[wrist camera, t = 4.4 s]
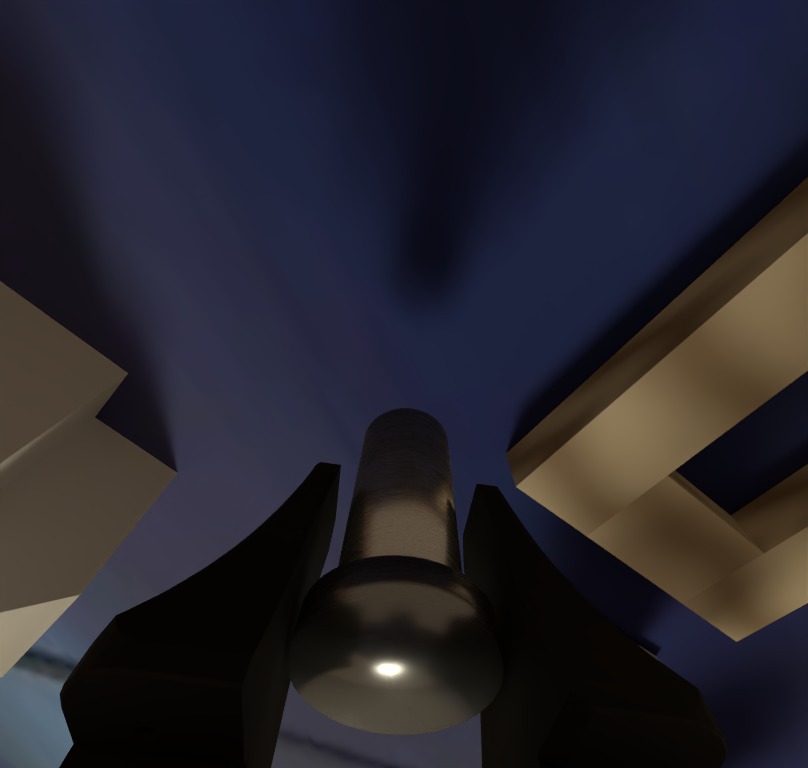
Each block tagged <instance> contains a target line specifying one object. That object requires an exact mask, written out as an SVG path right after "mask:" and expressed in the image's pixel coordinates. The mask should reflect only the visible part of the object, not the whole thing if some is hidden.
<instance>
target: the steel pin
mask: <svg viewBox="0 0 808 768" xmlns="http://www.w3.org/2000/svg"><path fill="white" fill-rule="evenodd" d="M287 663H288V672H289V676H290V679H291V681H292V683H293V686H294V687H295V689H296V690H297V692H298V693H299V695H300V696H301V697H302V698H303V699H304V700H305V701H306V702H307V703H308V704H309V705H311V706H312V707H313V708H314V709H316V710H317V711H319V712H320V713H322V714H323V715H325V716H327V717H329V718H331V719H333V720H335V721H337V722H340V723H342V724H345V725H347V726H351V727H354V728H357V729H361V730H366V731H370V732H377V733H384V734H420V733H427V732H433V731H438V730H442V729H446V728H449V727H452V726H455V725H457V724H460V723H462V722H464V721H467V720H468V719H470V718H472V717H474V716H475V715H477V714H478V713H480V712H481V711H482V710H484V709H485V708H486V707H487V706H488V705H489V704H490V703H491V702H492V701H493V699H494V698H495V697H496V695H497V693H498V691H499V690H500V688H501V685H502V681H503V675H504V667H503V660H502V654H501V649H500V643H499V637H498V631H497V625H496V619H495V613H494V610H493V607H492V605H491V603H490V601H489V599H488V597H487V596H486V594H485V593H484V592H483V591H482V590H481V588H480V587H479V586H478V585H477V584H475V583H474V582H473V581H472V580H471V579H469V578H468V577H467V576H465V575H464V574H462V569H461V559H460V550H459V541H458V531H457V522H456V512H455V503H454V493H453V484H452V475H451V465H450V456H449V446H448V439H447V435H446V432H445V430H444V428H443V427H442V425H441V424H440V423H439V422H438V421H437V420H436V419H435V418H434V417H433V416H431V415H429V414H428V413H425V412H423V411H420V410H417V409H411V408H400V409H394V410H390V411H388V412H385V413H383V414H382V415H380V416H378V417H377V418H376V419H375V420H374V421H373V422H372V423H371V424H370V426H369V427H368V429H367V431H366V434H365V438H364V443H363V448H362V453H361V457H360V462H359V467H358V472H357V477H356V482H355V487H354V492H353V497H352V502H351V507H350V512H349V517H348V521H347V526H346V531H345V536H344V541H343V546H342V551H341V556H340V561H339V566H338V567H337V568H335V569H333V570H331V571H330V572H328V573H327V574H325V575H324V576H322V577H321V578H320V579H319V580H318V581H317V582H315V584H314V585H313V586H312V587H311V588H310V589H309V591H308V593H307V594H306V596H305V598H304V600H303V603H302V606H301V609H300V613H299V617H298V620H297V624H296V628H295V631H294V635H293V639H292V642H291V646H290V650H289V654H288V661H287Z"/></svg>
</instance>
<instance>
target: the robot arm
mask: <svg viewBox="0 0 808 768" xmlns="http://www.w3.org/2000/svg"><path fill="white" fill-rule="evenodd" d="M340 467H341V465H337V464H330V463H323V462H320V463H318V464H317V465H316V466H315V467H314V469H313V470H312V471H311V473H310V474H309V475H308V476H307V478H306V479H305V480H304V481H303V483H302V484H301V485H300V486H299V487H298V488H297V489H296V491H295V492H294V493H293V494H292V495H291V496H290V497H289V498H288V499H287V500H286V501H285V502H284V503H283V505H282V506H281V507H280V508H279V509H278V510H276V511H275V512H274V513H273V514H272V515H271V516H270V517H269V518H268V519H267V520H266V521H265V522H264V523H263V524H262V525H261V526H259V527H258V528H257V529H256V530H255V531H254V532H252V533H251V534H250V535H249V536H248V537H246V538H245V539H244V540H243V541H241V542H240V543H239V544H238V545H236V546H235V547H234V548H232V549H231V550H230V551H228V552H227V553H225V554H224V555H223V556H221V557H220V558H218V559H217V560H216V561H214V562H213V563H211V564H210V565H208V566H207V567H205V568H204V569H202V570H201V571H199V572H197V573H196V574H194V575H192V576H191V577H189V578H187V579H186V580H184V581H182V582H181V583H179V584H177V585H176V586H174V587H172V588H171V589H169V590H167V591H165V592H163V593H161V594H160V595H158V596H156V597H153V598H151V599H149V600H147V601H145V602H143V603H141V604H139V605H137V606H135V607H133V608H131V609H129V610H127V611H125V612H123V613H120V614H118V615H116V616H115V617H114V618H113V620H112V621H111V622H110V623H109V624H108V626H107V627H106V628H105V629H104V630H103V631H102V632H101V634H100V635H99V636H98V637H97V638H96V640H95V641H94V642H93V643H92V645H91V646H90V647H89V649H88V650H87V652H86V653H85V655H84V656H83V657H82V659H81V660H80V662H79V663H78V665H77V666H76V667H75V669H74V670H73V672H72V673H71V675H70V676H69V677H68V679H67V680H66V682H65V683H64V685H63V687H62V690H61V692H60V700H61V707H62V711H63V714H64V717H65V720H66V723H67V726H68V728H69V731H70V734H71V737H72V740H73V743H74V744H73V746H72V748H71V749H70V751H69V752H68V754H67V756H66V757H65V759H64V761H63V762H62V764H61V766H60V767H59V768H271V765H272V760H273V756H274V751H275V747H276V742H277V738H278V733H279V729H280V724H281V720H282V715H283V711H284V706H285V702H286V698H287V693H288V689H289V685H290V680H291V679H290V676H289V672H288V663H287V661H288V654H289V650H290V646H291V642H292V639H293V635H294V631H295V628H296V624H297V620H298V617H299V613H300V609H301V606H302V603H303V600H304V598H305V596H306V594H307V593H308V591H309V589H310V588H311V587H312V586H313V585H314V584H315V582H317V581H318V580H319V578H320V575H321V572H322V569H323V566H324V563H325V560H326V557H327V554H328V551H329V547H330V542H331V538H332V533H333V528H334V523H335V519H336V509H337V499H338V488H339V478H340ZM463 555H464V571H465V576H467V577H468V578H469V579H471V580H472V581H473V582H474V583H475V584H477V585H478V586H479V587H480V588H481V590H482V591H483V592H484V593H485V594H486V596H487V597H488V599H489V601H490V603H491V605H492V607H493V610H494V613H495V619H496V625H497V631H498V637H499V643H500V649H501V654H502V660H503V667H504V675H503V681H502V685H501V688H500V690H499V691H498V693H497V695H496V697H495V698H494V699H493V701H492V702H491V703H490V704H489V705H488V706H487V707H486V708H485V709H484V710H482V711H481V712H480V713H479V714H480V723H481V742H482V768H720V767H721V765H722V764H723V762H724V760H725V759H726V756H727V748H728V744H727V742H726V740H725V738H724V736H723V734H722V732H721V730H720V728H719V726H718V724H717V722H716V720H715V718H714V716H713V714H712V712H711V710H710V709H709V707H708V705H707V703H706V702H705V700H704V698H703V696H702V695H701V693H700V691H699V690H698V688H696V687H695V686H694V685H692V684H691V683H689V682H688V681H687V680H685V679H684V678H682V677H681V676H680V675H678V674H677V673H675V672H674V671H672V670H671V669H670V668H668V667H667V666H665V665H664V664H663V663H661V662H660V661H659V659H658V657H657V656H655V655H653V654H652V653H650V652H649V651H647V650H646V649H644V648H643V647H641V646H639V645H638V644H636V643H635V642H634V641H633V640H631V639H630V638H629V637H628V636H626V635H625V634H624V633H623V632H622V631H620V630H619V629H618V628H617V627H616V626H614V625H613V624H612V623H611V622H610V621H609V620H608V619H607V618H606V617H604V616H603V615H602V614H601V613H600V612H599V611H598V610H597V609H596V608H595V607H594V606H592V605H591V604H590V603H589V602H588V601H587V600H586V599H585V598H584V597H583V596H582V595H581V594H580V593H579V592H578V591H577V590H576V589H575V588H574V587H573V585H572V584H571V583H570V582H569V581H568V580H567V579H566V578H565V577H564V576H563V575H562V574H561V573H560V571H559V570H558V569H557V568H556V567H555V566H554V565H553V563H552V562H551V561H550V560H549V558H548V557H547V556H546V555H545V554H544V552H543V551H542V550H541V549H540V547H539V546H538V545H537V543H536V542H535V541H534V539H533V538H532V537H531V535H530V534H529V533H528V531H527V530H526V528H525V527H524V526H523V524H522V523H521V521H520V520H519V518H518V517H517V515H516V514H515V513H514V511H513V510H512V508H511V507H510V505H509V504H508V502H507V501H506V499H505V498H504V496H503V494H502V493H501V492H500V490H499V489H498V487H497V486H489V485H482V484H477V485H476V488H475V492H474V496H473V500H472V503H471V507H470V511H469V515H468V518H467V522H466V526H465V530H464V533H463Z"/></svg>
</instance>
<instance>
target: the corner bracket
mask: <svg viewBox="0 0 808 768" xmlns="http://www.w3.org/2000/svg"><path fill="white" fill-rule="evenodd" d="M127 374H128V373H127V372H126V371H124V370H123V369H121V368H120V367H119V366H117V365H116V364H114V363H113V362H112V361H110V360H109V359H108V358H106V357H105V356H103V355H102V354H101V353H99V352H98V351H96V350H95V349H94V348H92V347H91V346H90V345H88V344H87V343H85V342H84V341H83V340H81V339H80V338H78V337H77V336H76V335H74V334H73V333H71V332H70V331H69V330H67V329H66V328H65V327H63V326H62V325H60V324H59V323H58V322H56V321H55V320H53V319H52V318H51V317H49V316H48V315H46V314H45V313H44V312H42V311H41V310H40V309H38V308H37V307H35V306H34V305H33V304H31V303H30V302H28V301H27V300H26V299H24V298H23V297H22V296H20V295H19V294H17V293H16V292H15V291H13V290H12V289H10V288H9V287H8V286H6V285H5V284H3V283H2V282H1V281H0V677H3V676H4V675H5V674H6V673H7V672H8V670H9V669H10V668H11V667H12V666H13V665H14V664H15V663H16V662H17V661H18V660H19V659H20V658H21V657H22V656H23V655H24V654H25V652H26V651H27V650H28V649H29V648H30V647H31V646H32V645H33V644H34V643H35V642H36V641H37V640H38V639H39V638H40V637H41V636H42V635H43V633H44V632H45V631H46V630H47V629H48V628H49V627H50V626H51V625H52V624H53V623H54V622H55V621H56V620H57V619H58V618H59V617H60V615H61V614H62V613H63V612H64V611H65V610H66V609H67V608H68V607H69V606H70V605H71V604H72V603H73V602H74V601H75V600H76V599H77V598H78V596H79V595H80V594H81V593H82V592H83V591H84V589H85V588H86V587H87V586H88V584H89V583H90V582H91V581H92V579H93V578H94V577H95V575H96V574H97V573H98V572H99V570H100V569H101V568H102V567H103V565H104V564H105V563H106V562H107V560H108V559H109V558H110V557H111V555H112V554H113V553H114V552H115V550H116V549H117V548H118V547H119V545H120V544H121V543H122V542H123V540H124V539H125V538H126V537H127V535H128V534H129V533H130V532H131V530H132V529H133V528H134V527H135V525H136V524H137V523H138V522H139V520H140V519H141V518H142V517H143V515H144V514H145V513H146V512H147V510H148V509H149V508H150V507H151V505H152V504H153V503H154V502H155V500H156V499H157V498H158V497H159V495H160V494H161V493H162V492H163V490H164V489H165V488H166V486H167V485H168V484H169V483H170V481H171V480H172V479H173V478H174V476H175V475H176V474H177V472H175V471H174V470H172V469H171V468H169V467H168V466H167V465H165V464H164V463H162V462H161V461H159V460H158V459H156V458H155V457H153V456H152V455H150V454H149V453H147V452H146V451H144V450H143V449H141V448H140V447H138V446H137V445H135V444H134V443H132V442H131V441H129V440H128V439H126V438H125V437H123V436H122V435H120V434H119V433H118V432H116V431H115V430H113V429H112V428H110V427H109V426H107V425H106V424H104V423H103V422H101V421H100V420H98V419H97V418H95V417H96V415H97V414H98V413H99V411H100V410H101V409H102V407H103V406H104V405H105V403H106V402H107V401H108V399H109V398H110V397H111V396H112V394H113V393H114V392H115V390H116V389H117V388H118V386H119V385H120V384H121V382H122V381H123V380H124V378H125V377H126V376H127Z"/></svg>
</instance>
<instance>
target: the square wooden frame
mask: <svg viewBox="0 0 808 768" xmlns="http://www.w3.org/2000/svg"><path fill="white" fill-rule="evenodd" d="M806 371H808V177H807V178H806V179H805V180H804V181H803V182H802V183H801V184H800V185H799V186H798V187H796V188H795V189H794V190H793V191H792V192H791V193H790V194H789V195H788V196H787V197H786V198H784V199H783V200H782V201H781V202H780V203H779V204H778V205H777V206H776V207H775V208H774V209H772V210H771V211H770V212H769V213H768V214H767V215H766V216H765V217H764V218H763V219H762V220H760V221H759V222H758V223H757V224H756V225H755V226H754V227H753V228H752V229H751V230H750V231H748V232H747V233H746V234H745V235H744V236H743V237H742V238H741V239H740V240H739V241H738V242H736V243H735V244H734V245H733V246H732V247H731V248H730V249H729V250H728V251H727V252H726V253H724V254H723V255H722V256H721V257H720V258H719V259H718V260H717V261H716V262H715V263H714V264H712V265H711V266H710V267H709V268H708V269H707V270H706V271H705V272H704V273H703V274H702V275H700V276H699V277H698V278H697V279H696V280H695V281H694V282H693V283H692V284H691V285H690V286H688V287H687V288H686V289H685V290H684V291H683V292H682V293H681V294H680V295H679V296H678V297H676V298H675V299H674V300H673V301H672V302H671V303H670V304H669V305H668V306H667V307H666V308H664V309H663V310H662V311H661V312H660V313H659V314H658V315H657V316H656V317H655V318H654V319H652V320H651V321H650V322H649V323H648V324H647V325H646V326H645V327H644V328H643V329H642V330H640V331H639V332H638V333H637V334H636V335H635V336H634V337H633V338H632V339H631V340H630V341H628V342H627V343H626V344H625V345H624V346H623V347H622V348H621V349H620V350H619V351H618V352H616V353H615V354H614V355H613V356H612V357H611V358H610V359H609V360H608V361H607V362H606V363H604V364H603V365H602V366H601V367H600V368H599V369H598V370H597V371H596V372H595V373H594V374H592V375H591V376H590V377H589V378H588V379H587V380H586V381H585V382H584V383H583V384H582V385H580V386H579V387H578V388H577V389H576V390H575V391H574V392H573V393H572V394H571V395H570V396H568V397H567V398H566V399H565V400H564V401H563V402H562V403H561V404H560V405H559V406H558V407H556V408H555V409H554V410H553V411H552V412H551V413H550V414H549V415H548V416H547V417H546V418H544V419H543V420H542V421H541V422H540V423H539V424H538V425H537V426H536V427H535V428H534V429H532V430H531V431H530V432H529V433H528V434H527V435H526V436H525V437H524V438H523V439H522V440H520V441H519V442H518V443H517V444H516V445H515V446H514V447H513V448H512V449H511V450H510V451H508V452H507V453H506V455H507V458H508V462H509V465H510V468H511V472H512V475H513V478H514V482H515V485H516V487H517V488H519V489H520V490H521V491H523V492H524V493H526V494H527V495H529V496H530V497H531V498H533V499H534V500H536V501H537V502H538V503H540V504H541V505H543V506H544V507H546V508H547V509H548V510H550V511H551V512H553V513H554V514H556V515H557V516H558V517H560V518H561V519H563V520H564V521H566V522H567V523H568V524H570V525H571V526H573V527H574V528H575V529H577V530H578V531H580V532H581V533H583V534H584V535H585V536H587V537H588V538H590V539H591V540H593V541H594V542H595V543H597V544H598V545H600V546H601V547H603V548H604V549H605V550H607V551H608V552H610V553H611V554H612V555H614V556H615V557H617V558H618V559H620V560H621V561H622V562H624V563H625V564H627V565H628V566H630V567H631V568H632V569H634V570H635V571H637V572H638V573H640V574H641V575H642V576H644V577H645V578H647V579H648V580H649V581H651V582H652V583H654V584H655V585H657V586H658V587H659V588H661V589H662V590H664V591H665V592H667V593H668V594H669V595H671V596H672V597H674V598H675V599H677V600H678V601H679V602H681V603H682V604H684V605H685V606H686V607H688V608H689V609H691V610H692V611H694V612H695V613H696V614H698V615H699V616H701V617H702V618H704V619H705V620H706V621H708V622H709V623H711V624H712V625H714V626H715V627H716V628H718V629H719V630H721V631H722V632H723V633H725V634H726V635H728V636H729V637H731V638H732V639H733V640H735V641H736V642H737V641H739V640H741V639H743V638H745V637H746V636H748V635H750V634H752V633H754V632H756V631H757V630H759V629H761V628H763V627H765V626H766V625H768V624H770V623H772V622H774V621H776V620H777V619H779V618H781V617H783V616H785V615H787V614H788V613H790V612H792V611H794V610H796V609H797V608H799V607H801V606H803V605H805V604H807V603H808V464H807V465H806V466H804V467H803V468H801V469H800V470H798V471H797V472H795V473H794V474H792V475H791V476H789V477H788V478H786V479H785V480H783V481H782V482H780V483H779V484H777V485H776V486H774V487H773V488H771V489H770V490H768V491H767V492H765V493H764V494H762V495H761V496H759V497H758V498H756V499H755V500H753V501H752V502H750V503H749V504H747V505H746V506H744V507H743V508H741V509H740V510H738V511H737V512H735V513H734V514H732V515H729V514H728V513H727V512H726V511H724V510H723V509H722V508H721V507H720V506H718V505H717V504H716V503H715V502H713V501H712V500H711V499H710V498H709V497H707V496H706V495H705V494H704V493H702V492H701V491H700V490H699V489H697V488H696V487H695V486H694V485H693V484H691V483H690V482H689V481H688V480H686V479H685V478H684V477H683V476H681V475H680V474H679V473H678V472H677V471H675V470H676V469H677V468H678V467H680V466H681V465H682V464H684V463H685V462H686V461H688V460H689V459H690V458H692V457H693V456H694V455H696V454H697V453H698V452H700V451H701V450H702V449H704V448H705V447H706V446H708V445H709V444H710V443H712V442H713V441H714V440H716V439H717V438H718V437H720V436H721V435H722V434H724V433H725V432H726V431H728V430H729V429H730V428H732V427H733V426H734V425H736V424H737V423H738V422H740V421H741V420H742V419H744V418H745V417H746V416H748V415H749V414H750V413H752V412H753V411H754V410H756V409H757V408H758V407H760V406H761V405H762V404H764V403H765V402H766V401H768V400H769V399H770V398H772V397H773V396H774V395H776V394H777V393H778V392H780V391H781V390H782V389H784V388H785V387H786V386H788V385H789V384H790V383H792V382H793V381H794V380H796V379H797V378H798V377H800V376H801V375H802V374H804V373H805V372H806Z"/></svg>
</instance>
